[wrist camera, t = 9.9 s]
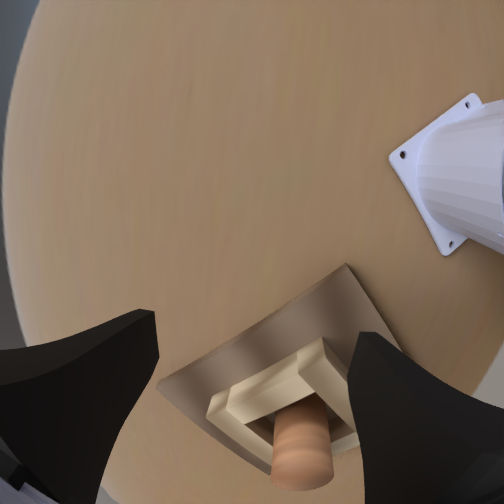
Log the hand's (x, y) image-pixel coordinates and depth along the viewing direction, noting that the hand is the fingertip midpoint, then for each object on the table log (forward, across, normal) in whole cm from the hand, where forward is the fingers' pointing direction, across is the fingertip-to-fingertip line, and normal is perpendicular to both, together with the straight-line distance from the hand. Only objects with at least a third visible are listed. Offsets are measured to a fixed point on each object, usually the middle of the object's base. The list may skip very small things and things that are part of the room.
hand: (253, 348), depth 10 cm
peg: (+8, -4, +12) cm, 15 cm away
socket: (+9, -4, +12) cm, 15 cm away
